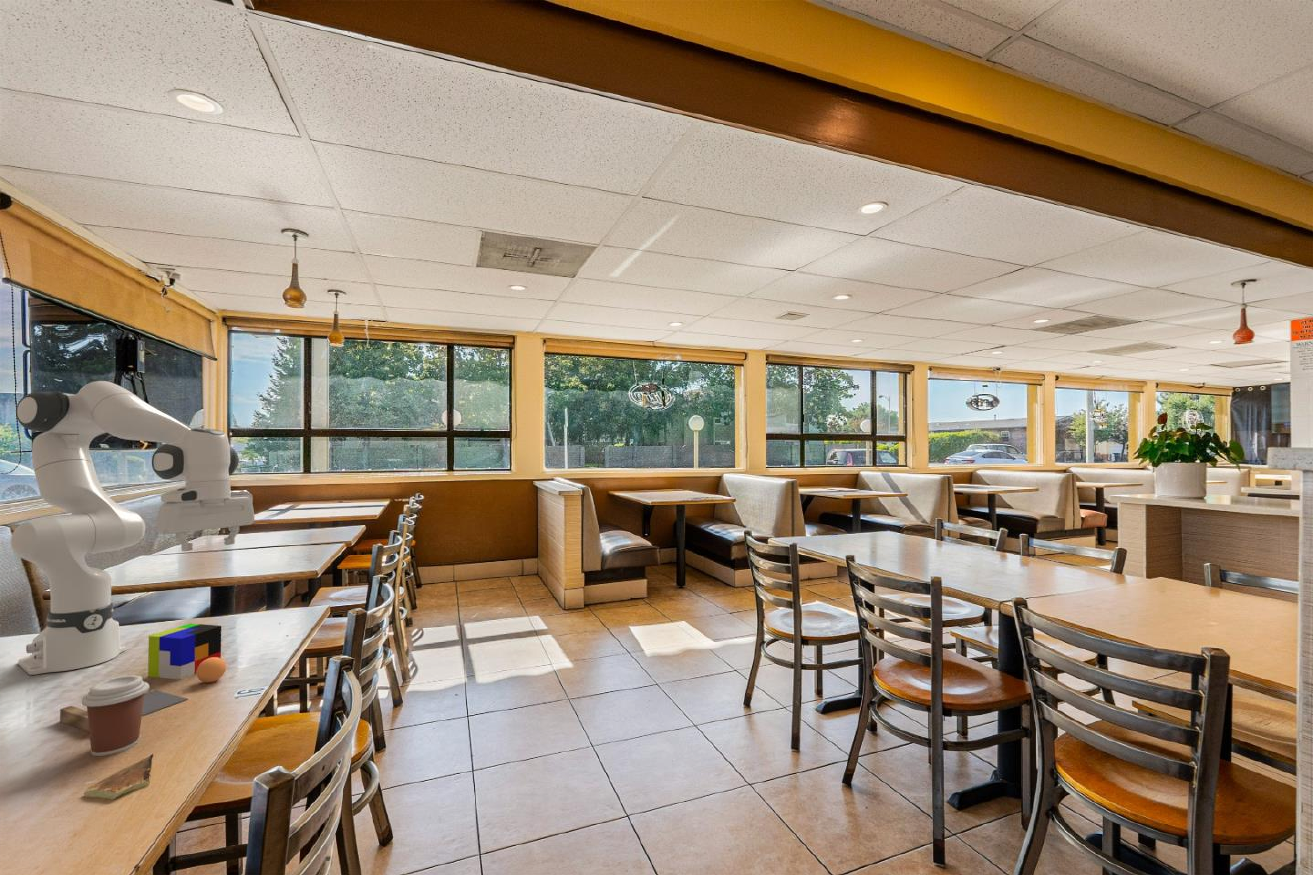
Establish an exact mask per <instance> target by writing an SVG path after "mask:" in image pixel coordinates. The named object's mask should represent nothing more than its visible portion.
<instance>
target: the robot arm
mask: <svg viewBox="0 0 1313 875" xmlns="http://www.w3.org/2000/svg"><path fill="white" fill-rule="evenodd" d="M15 415H16V420H17V421H18V423H19V424H20V425H21V426H22V427H23V428H24V429H27V430H30V431H35V432H39V434H38V435H37V436H36V437H34V439H33V441H32V445H31V446H32V447H31V457H32V467H33V472H34V475H35V479H36V481H37V486H38V489H39V494H40V497H41V498H42V499H43V501H44V502H45V503H47V504H48V505H50V506H54V507H57V508H60V509H62V510H65V511H68V512H69V513H70V514H63V515H62V514H61V515H50V516H45V517H39V518H35V519H32V520H28V521H25V522H22V523H21V524H19V525H18V526H17V527H16V528H15V530H14V531H13V532H12V534H11V537H10V546H11V549H12V551H13V552H14V554H16V556H18V557H19V558H21V559H22V560H25V561H28V562H30V563H32V564H33V565H35V566H37V567H38V568H39V569H40V570H41V571H42V572H43V573H44V575H45V577H46V579H47V581H48V583H49V594H50V611H49V612H47V616H46V620H45V628H43V630H42V631H41V632H40V633H38V635H36V636H35V637H34V638H33V639H32V642H31V643H28V644H26V646H25V651H26V654H30V655H27V656H25V657H21V658H20V659H18V660H17V664H18V666H20V667H21V668H22V670H23V671H24V672H26V673H27V674H28V675H29V676H30V675H31V676H32V675H40V674H45V673H46V674H48V673H55V672H64V671H65V672H66V671H72V670H77V669H83V668H87V667H91V666H95V665H98V664H101V663H105V662H108V661H110V660H112V659H114V658H117V657H118V656H119V655H120V654H121V653H123V652H125V651H126V650H127V646H126V645H121V634H120V623H119V621H117V620H115V619H114V618H113V617H114V610H115V608H114V604H113V603H112V578H111V575H110V574H109V573H108V571H106V570H103V569H100V568H98V567H94V566H89V565H88V564H87V562H86V559H85V558H86V555H94V554H99V553H107V552H113V551H119V550H122V549H126V548H129V547H133V546H135V545H137V544H138V543H139V542H140V541H141V540H142V538H144V535H145V532H146V523H145V520H144V518H142V517H141V516H140V515H139V514H138V513H137V512H135V511H132V510H129V509H126V508H125V507H123V506H121V505H120V504H118V503H117V502H115V501H114V500H113V499H112V498H111V497H110V496H109V495H108V494H107V493H106V492H105V490H104V489H103V487H102V485H101V482H100V480H99V478H98V475H97V474H98V473H97V472H96V468H95V465H94V462H93V459H92V455H91V453H90V444H91V443H92V441H94V442H96V443H103V442H105V441H107V439H109V438H111V437H117V438H119V439H123V440H129V441H138V442H139V441H142V442H153V443H162V445H160V446H159V447H158V448H157V449H156V450H155V451H154V453H153V454H152V456H151V457H152V458H151V466H152V470H153V471H154V473H155V475H156V476H158V477H159V478H160V479H162V480H167V481H185V486H183V487H180V488H176V489H174V490H170V491H167V492H164V493H162V494H161V495H160V501H161V502H162V504H161V505H160V506H159V508H158V511H157V515H156V516H157V517H156V531H157V532H158V534H161V535H174V534H175V539H176V540H177V541H178V542H179V544H180V546H181V547H180V548H181V552H188V551H189V552H191V551H193V546H194V545H193V542H189V541H188V540H187V539H186V538H187V537H188V533H190V532H199V531H201V532H202V531H207V530H215V529H216V530H217V529H223V528H225V529H226V528H228V531H229V534H228V536H227V537H224V540H223V543H224V545H225V546H229V545H230V546H231V545H235V543H236V542H235V539H236V537H237V535H238V533H239V532H240V527H242V526H249V525H252V524H253V523H254V522H255V512H254V505H253V500H254V499H253V498H254V497H253V494H252V493H251V492H249V491H248V490H245V489H244V490H243V489H242V490H232V489H231V476H232V474H234V472H235V471H236V470H237V468H238V466H239V462H240V458H239V455H238V452H236V450H235V449H234V447H233V446H232V445H230V441H229V438H228V435H227V433H226V432H224V431H222V430H219V429H214V428H211V429H210V428H203V427H202V428H199V427H198V428H196V427H195V428H193V427H192V426H190V425H188V424H187V423H185V422H183V421H181V420H179V419H177V418H175V417H173V416H171V415H169V414H166V413H165V412H163V411H161V410H159V409H157V408H156V407H154V406H153V405H150V404H149V403H147V402H145V400H142V399H141V398H140V397H138V395H136V394H135V393H133V392H131V391H130V390H128V389H126V388H124V387H122V386H121V385H118V384H116V383H113V382H111V381H107V380H98V381H95V380H94V381H92V382H89V383H87V384H85V385H83V386H82V387H81V388H80V390H78V392H77V393H76V394H74V393H65V392H62V391H38V392H37V391H35V392H30V393H28V394H26V395H25V396H23V397H22V398H21V399H20V400H19V401H18V403H17V404H16V408H15Z"/></svg>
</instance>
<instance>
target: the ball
mask: <svg viewBox="0 0 1313 875" xmlns="http://www.w3.org/2000/svg"><path fill="white" fill-rule="evenodd" d="M226 670H227V664H226V662H225V661H224V659H222V657H221V658H217V657H212V658H208V659H206V660H204V661H203V662H202V663H201V664H200V665H199V666H198V668H197V671H196V674H195V675H196V678H197V679H198V680H199V681H201V682H203V683H213V682H216V681H217V680H219V679H220V678H222V677H223V675H224V674H225V672H226Z"/></svg>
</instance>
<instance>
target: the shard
mask: <svg viewBox="0 0 1313 875" xmlns="http://www.w3.org/2000/svg"><path fill="white" fill-rule="evenodd" d="M153 758H154V753H152V754H151V755H149V756H147V757H145V758H143V759H141V760H139V761H138V762H136V763H134V764H132V765H129V766H127V767H125V768H123V769H121V770H120V771H119V770H118V771H117V772H115V773H113V774H112V775H109V776H107V777H106V778H103V779H102V780H99V781H98V782H97V783H95V784H93V785H92V786H89V787H87V789H86V790H85V791H84V792H83V796H84V797H88V796H89V797H91V798H101V799H105V798H111V799H110V800H112V799H113V800H115V799H117V798H119V797H120V796H122V794H123V795H126V794H127V792H128V793H130V792H133V791H135V789H136V790H139V789H141V788H144V787H147V786H149V785H150V783H151V776H152V774H151V772H152V770H153ZM132 790H133V791H132ZM129 791H130V792H129ZM89 797H88V798H89ZM116 797H117V798H116Z"/></svg>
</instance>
